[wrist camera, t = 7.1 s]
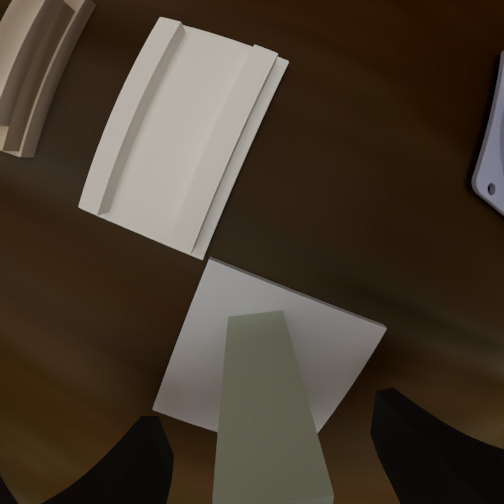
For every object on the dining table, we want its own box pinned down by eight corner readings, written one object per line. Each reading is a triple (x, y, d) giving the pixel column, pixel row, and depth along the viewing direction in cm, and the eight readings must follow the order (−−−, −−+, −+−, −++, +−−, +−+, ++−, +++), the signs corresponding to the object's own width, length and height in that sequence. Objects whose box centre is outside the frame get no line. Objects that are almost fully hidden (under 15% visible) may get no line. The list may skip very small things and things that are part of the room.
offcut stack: (98, 7, 9) (65, -28, 6) (36, 157, 11) (-14, 156, 8) (58, 6, 9) (23, -24, 6) (1, 146, 11) (-48, 144, 7)
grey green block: (282, 310, 12) (333, 494, 4) (291, 426, 13) (319, 579, 5) (228, 316, 12) (212, 508, 4) (247, 430, 13) (252, 587, 5)
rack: (287, 65, 10) (293, 51, 9) (204, 256, 12) (198, 267, 10) (163, 25, 10) (154, 8, 8) (85, 206, 11) (66, 211, 10)
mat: (383, 324, 13) (387, 328, 12) (301, 447, 14) (302, 452, 14) (210, 256, 12) (209, 259, 11) (153, 404, 13) (152, 409, 13)
